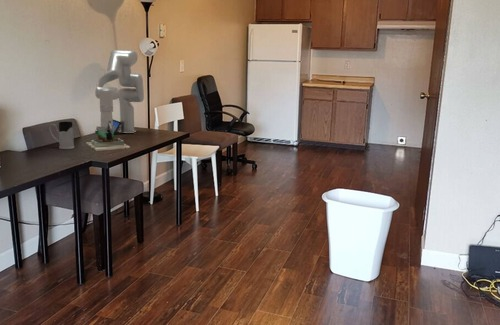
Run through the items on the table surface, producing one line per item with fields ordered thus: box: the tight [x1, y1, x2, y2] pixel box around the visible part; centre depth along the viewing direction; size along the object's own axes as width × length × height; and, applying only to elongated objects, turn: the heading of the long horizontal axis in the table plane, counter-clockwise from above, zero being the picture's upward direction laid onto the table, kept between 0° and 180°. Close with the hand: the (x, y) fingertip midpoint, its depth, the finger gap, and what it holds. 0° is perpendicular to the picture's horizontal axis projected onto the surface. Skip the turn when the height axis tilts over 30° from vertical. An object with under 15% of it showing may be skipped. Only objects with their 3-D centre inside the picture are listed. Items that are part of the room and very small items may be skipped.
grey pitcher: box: [49, 121, 75, 150], centre depth 273 cm, size 9×14×15 cm, turn 86°
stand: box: [85, 137, 131, 152], centre depth 282 cm, size 22×20×4 cm
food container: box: [95, 125, 115, 143], centre depth 280 cm, size 12×6×10 cm, turn 142°
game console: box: [94, 119, 121, 136], centre depth 322 cm, size 16×14×9 cm
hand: (107, 138), depth 281 cm, fingers closed on food container, 5 cm apart
